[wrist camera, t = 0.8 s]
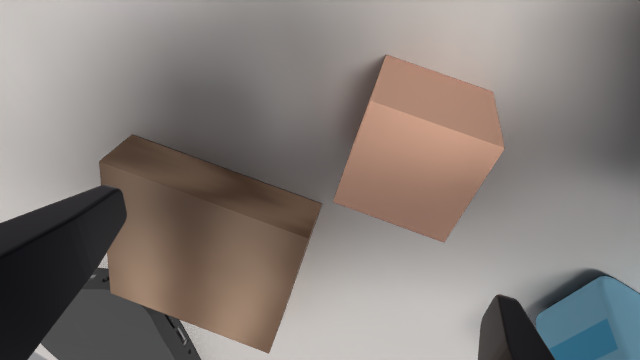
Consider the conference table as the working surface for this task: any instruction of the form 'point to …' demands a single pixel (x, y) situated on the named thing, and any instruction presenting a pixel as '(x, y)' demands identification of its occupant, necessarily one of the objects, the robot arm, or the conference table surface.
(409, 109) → the terracotta block
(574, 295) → the data package
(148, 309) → the media streaming box
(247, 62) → the conference table surface
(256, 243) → the walnut block
